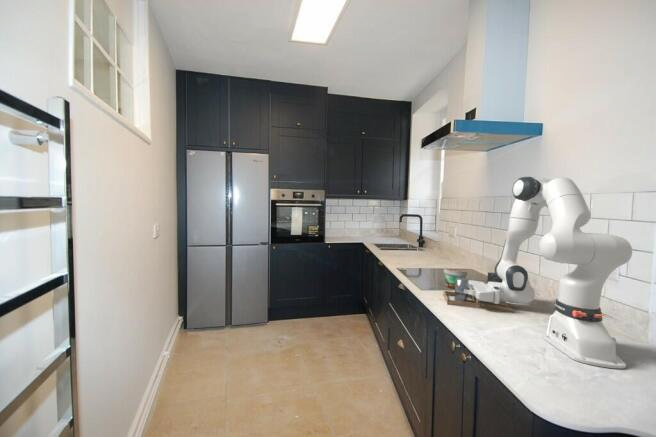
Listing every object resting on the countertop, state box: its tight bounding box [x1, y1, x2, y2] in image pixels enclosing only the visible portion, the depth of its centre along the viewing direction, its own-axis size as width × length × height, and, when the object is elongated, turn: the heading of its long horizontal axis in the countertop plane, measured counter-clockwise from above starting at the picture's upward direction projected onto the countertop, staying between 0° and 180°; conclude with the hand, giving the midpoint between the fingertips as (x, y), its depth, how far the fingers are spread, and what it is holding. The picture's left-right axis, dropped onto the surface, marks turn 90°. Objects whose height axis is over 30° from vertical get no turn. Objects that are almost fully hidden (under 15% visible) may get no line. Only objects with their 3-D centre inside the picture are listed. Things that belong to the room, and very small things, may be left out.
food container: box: [443, 268, 468, 290], centre depth 157 cm, size 12×6×10 cm, turn 71°
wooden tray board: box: [442, 290, 516, 313], centre depth 136 cm, size 14×28×2 cm, turn 76°
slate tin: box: [453, 277, 469, 302], centre depth 137 cm, size 6×6×11 cm
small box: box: [486, 272, 502, 284], centre depth 152 cm, size 11×6×10 cm, turn 84°
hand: (461, 288), depth 137 cm, fingers open, 8 cm apart
